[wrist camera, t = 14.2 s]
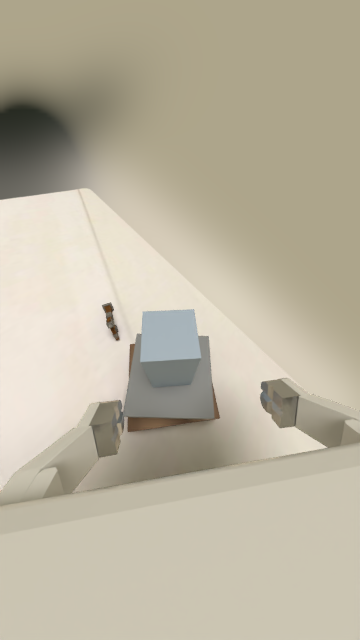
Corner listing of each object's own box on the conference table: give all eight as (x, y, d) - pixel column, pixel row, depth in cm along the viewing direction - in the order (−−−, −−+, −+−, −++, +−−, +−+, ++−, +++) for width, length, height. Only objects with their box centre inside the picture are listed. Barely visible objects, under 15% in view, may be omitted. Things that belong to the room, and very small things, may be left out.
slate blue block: (152, 387, 20) (140, 362, 12) (153, 351, 22) (142, 311, 15) (190, 384, 20) (201, 358, 13) (187, 349, 23) (194, 309, 15)
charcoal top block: (131, 417, 22) (122, 416, 18) (142, 346, 27) (136, 333, 24) (207, 419, 22) (214, 418, 19) (203, 348, 28) (208, 336, 24)
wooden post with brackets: (113, 344, 31) (103, 325, 28) (110, 321, 37) (101, 304, 34) (123, 340, 31) (114, 321, 28) (118, 319, 37) (110, 301, 35)
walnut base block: (134, 430, 25) (127, 432, 21) (135, 353, 31) (129, 344, 28) (213, 419, 26) (219, 418, 23) (198, 347, 32) (202, 336, 29)
